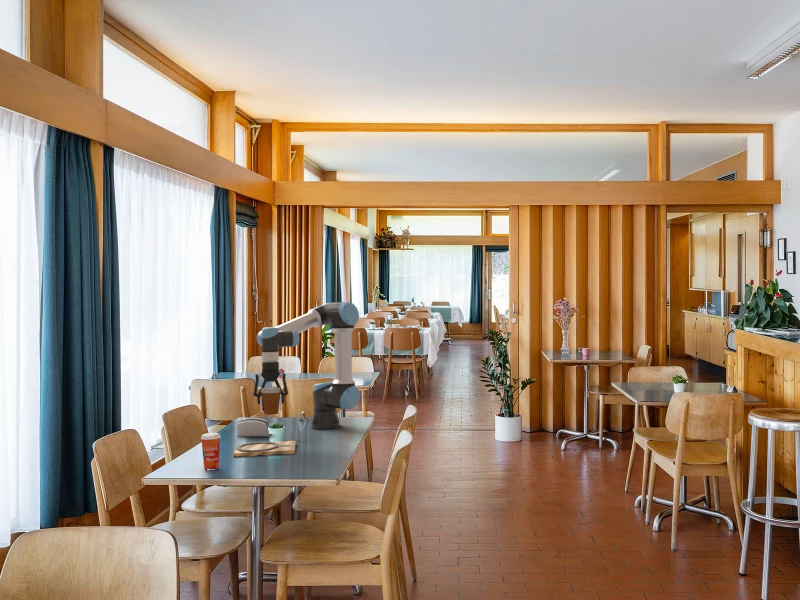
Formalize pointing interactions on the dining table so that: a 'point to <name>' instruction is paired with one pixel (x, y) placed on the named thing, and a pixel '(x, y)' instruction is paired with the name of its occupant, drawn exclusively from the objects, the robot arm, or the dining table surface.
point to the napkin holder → (252, 427)
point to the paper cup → (211, 450)
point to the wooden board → (265, 448)
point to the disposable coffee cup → (270, 400)
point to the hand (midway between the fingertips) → (271, 411)
